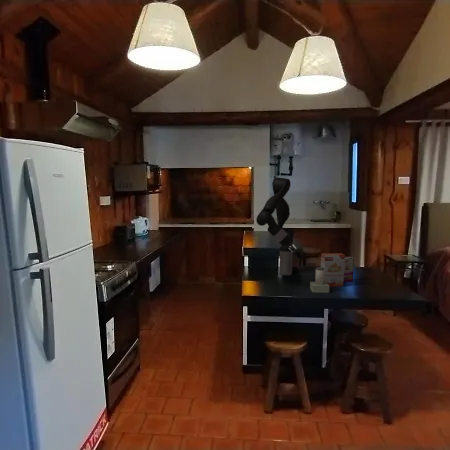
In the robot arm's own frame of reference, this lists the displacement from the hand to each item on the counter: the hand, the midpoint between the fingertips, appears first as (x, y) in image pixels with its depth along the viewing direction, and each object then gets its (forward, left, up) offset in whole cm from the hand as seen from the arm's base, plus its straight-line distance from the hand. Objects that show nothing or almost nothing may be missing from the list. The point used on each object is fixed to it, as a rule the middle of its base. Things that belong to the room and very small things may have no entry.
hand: (300, 256), depth 239 cm
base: (+1, +12, -21) cm, 24 cm away
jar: (+1, +12, -17) cm, 21 cm away
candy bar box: (-24, +33, -21) cm, 46 cm away
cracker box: (-11, +22, -21) cm, 33 cm away
